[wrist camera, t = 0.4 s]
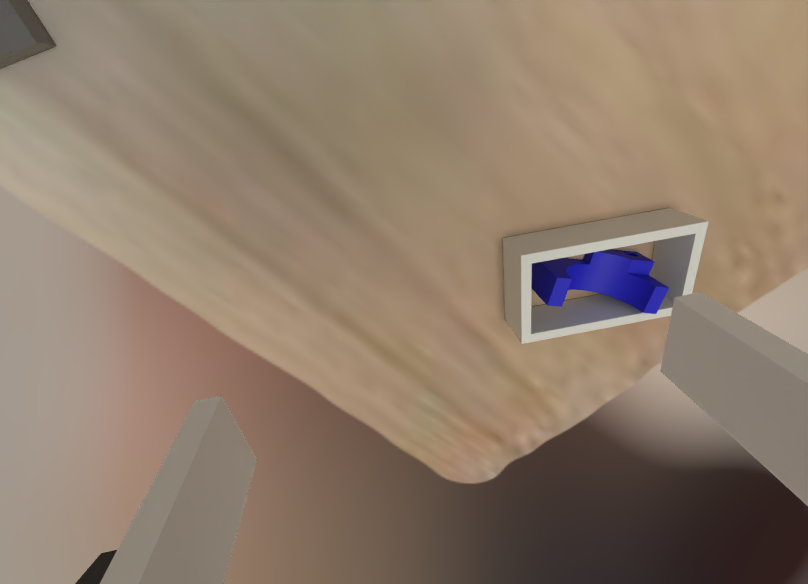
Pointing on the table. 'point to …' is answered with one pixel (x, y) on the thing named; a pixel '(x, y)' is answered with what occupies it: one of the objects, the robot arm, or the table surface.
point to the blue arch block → (600, 278)
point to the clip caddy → (667, 227)
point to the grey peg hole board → (20, 32)
